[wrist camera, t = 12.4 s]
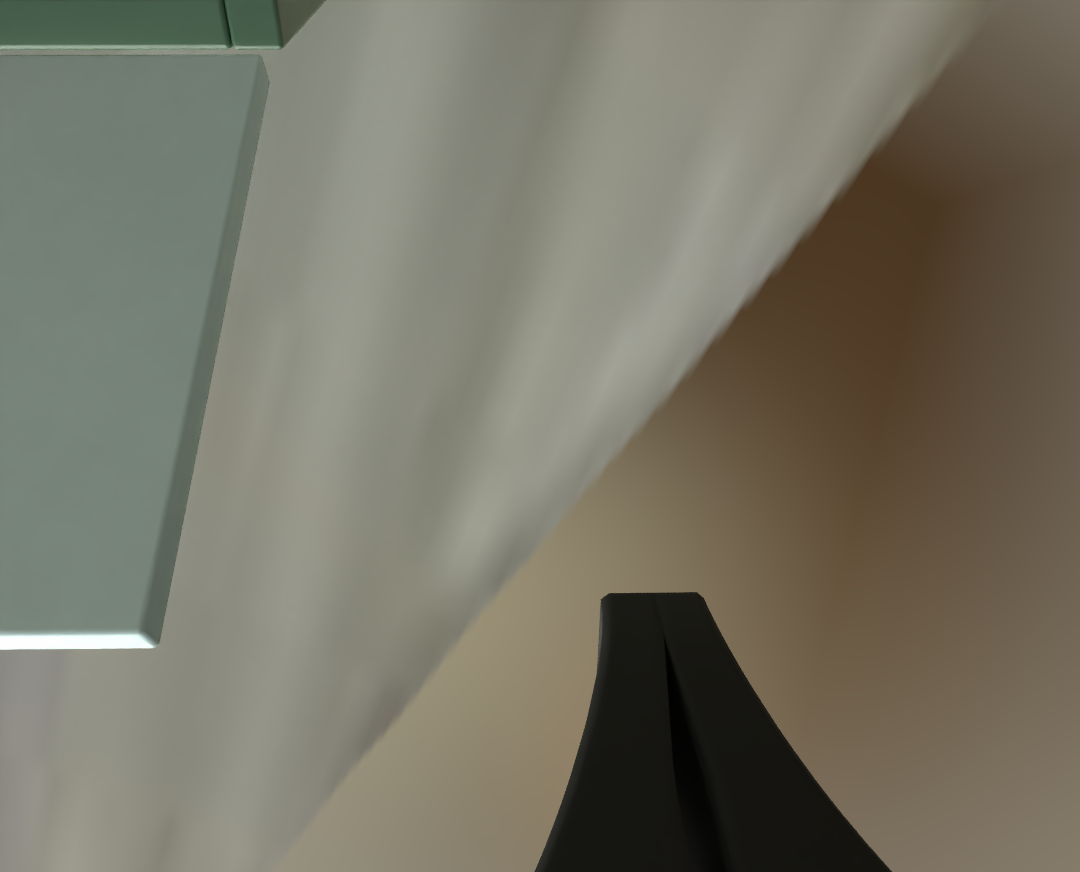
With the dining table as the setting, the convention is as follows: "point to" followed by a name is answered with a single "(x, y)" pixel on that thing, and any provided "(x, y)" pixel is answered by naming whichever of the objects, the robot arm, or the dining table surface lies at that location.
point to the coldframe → (151, 24)
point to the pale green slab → (110, 325)
